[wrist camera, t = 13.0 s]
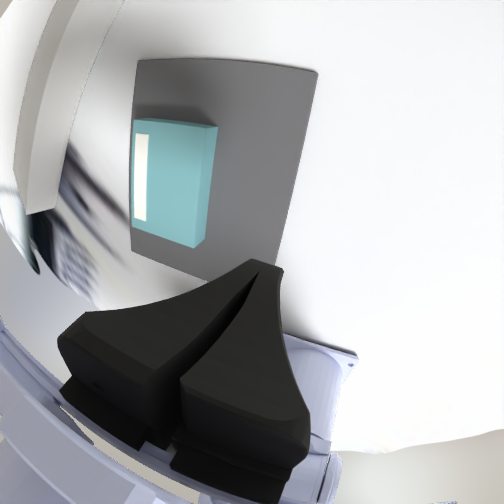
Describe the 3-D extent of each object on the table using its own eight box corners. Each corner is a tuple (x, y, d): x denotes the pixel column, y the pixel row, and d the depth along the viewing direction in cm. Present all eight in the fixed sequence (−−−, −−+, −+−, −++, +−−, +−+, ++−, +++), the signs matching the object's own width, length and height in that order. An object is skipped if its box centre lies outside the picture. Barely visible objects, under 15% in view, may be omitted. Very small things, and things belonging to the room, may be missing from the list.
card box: (193, 249, 21) (131, 227, 22) (204, 238, 23) (144, 218, 24) (205, 128, 17) (132, 120, 18) (218, 126, 18) (148, 117, 19)
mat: (266, 298, 24) (264, 301, 24) (134, 249, 27) (131, 251, 27) (318, 73, 15) (317, 73, 14) (141, 60, 18) (137, 60, 17)
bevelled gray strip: (40, 164, 31) (58, 206, 29) (13, 169, 27) (26, 214, 25) (135, -63, 12) (179, -69, 10) (102, -73, 8) (139, -87, 6)
